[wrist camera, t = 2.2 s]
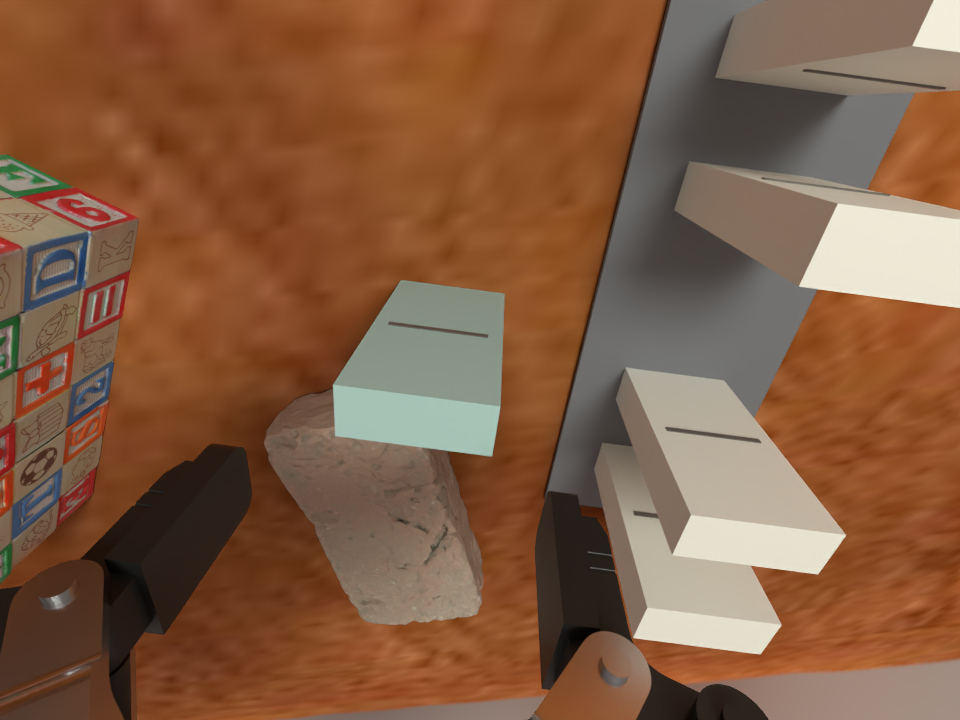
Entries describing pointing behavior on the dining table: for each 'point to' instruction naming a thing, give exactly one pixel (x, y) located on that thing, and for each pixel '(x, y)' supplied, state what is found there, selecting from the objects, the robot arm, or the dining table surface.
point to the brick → (380, 516)
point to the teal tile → (426, 371)
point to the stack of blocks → (54, 347)
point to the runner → (704, 232)
